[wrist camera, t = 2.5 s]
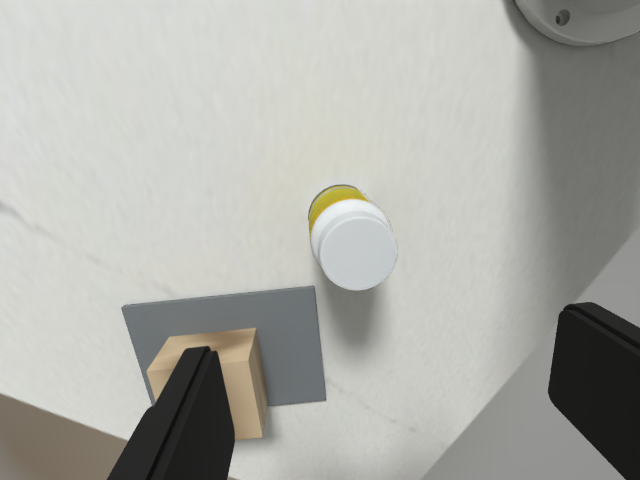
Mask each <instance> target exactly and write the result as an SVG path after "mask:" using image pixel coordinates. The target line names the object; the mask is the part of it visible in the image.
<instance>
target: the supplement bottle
mask: <svg viewBox="0 0 640 480" xmlns="http://www.w3.org/2000/svg"><path fill="white" fill-rule="evenodd" d="M308 220H309V230H310V243H311V248H312V252H313V254H314V257H315V258H316V260H317V262H318V263H319V264H320V265H321V267H322V269H323V272H324V273H325V275H326V276H327V277H328V279H329V280H330V281H331V282H333V283H334V284H335V285H337V286H339V287H341V288H344V289H347V290H353V291H360V290H366V289H370V288H373V287H375V286H377V285H379V284H380V283H382V282H383V281H384V280H385V279H386V278H387V277H388V276H389V275H390V273H391V272H392V270H393V269H394V266H395V264H396V261H397V256H398V247H397V242H396V239H395V237H394V235H393V230H392V227H391V224H390V221H389V220H388V218H387V216H386V215H385V213H384V212H383V211H382V210H381V209H380V208H379V207H378V206H377V205H376V204H375V203H374V202H373V201H372V200H371V199H370V198H369V197H368V196H367V195H366V194H365V193H363V192H362V191H361V190H360V189H358V188H356V187H354V186H351V185H347V184H336V185H332V186H329V187H327V188H325V189H323V190H322V191H321V192H319V193H318V194H317V196H316V197H315V198H314V200H313V201H312V203H311V206H310V209H309V215H308Z"/></svg>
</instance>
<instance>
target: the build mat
mask: <svg viewBox="0 0 640 480" xmlns="http://www.w3.org/2000/svg"><path fill="white" fill-rule="evenodd" d="M121 309H122V312H123V315H124V318H125V321H126V325H127V328H128V331H129V334H130V337H131V340H132V344H133V347H134V350H135V353H136V356H137V359H138V363H139V366H140V369H141V372H142V375H143V378H144V382H145V385H146V388H147V391H148V394H149V397H150V400H151V404H152V406H154V405H155V403H156V401H155V398H154V394H153V391H152V388H151V385H150V382H149V378H148V375H147V372H146V371H147V369H148V368H149V366H150V365H151V363H152V362H153V360H154V359H155V357H156V356H157V354H158V353H159V351H160V350H161V348H162V347H163V345H164V344H165V342H166V341H167V339H168V338H169V337H173V336H182V335H192V334H202V333H211V332H221V331H230V330H240V329H249V328H256V330H257V336H258V341H259V347H260V353H261V359H262V364H263V370H264V376H265V382H266V387H267V393H268V402H267V406H273V405H282V404H291V403H300V402H310V401H319V400H326V395H325V385H324V376H323V366H322V357H321V347H320V337H319V328H318V318H317V309H316V299H315V290H314V286H307V287H297V288H287V289H278V290H268V291H258V292H248V293H239V294H229V295H219V296H209V297H200V298H190V299H180V300H170V301H161V302H151V303H141V304H131V305H124V306H123V307H122V308H121Z"/></svg>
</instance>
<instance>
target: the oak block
mask: <svg viewBox="0 0 640 480" xmlns="http://www.w3.org/2000/svg"><path fill="white" fill-rule="evenodd" d="M201 346H209V347H210V349H211V351H217V352H218V355H219V360H220V364H221V369H222V373H223V378H224V383H225V387H226V392H227V397H228V401H229V406H230V411H231V415H232V420H233V424H234V430H235V440H242V439H251V438H261V437H263V431H264V424H265V416H266V409H267V402H268V393H267V387H266V382H265V376H264V370H263V364H262V359H261V353H260V347H259V341H258V336H257V330H256V328H249V329H240V330H230V331H221V332H211V333H202V334H192V335H182V336H173V337H169V338H168V339H167V341H166V342H165V344H164V345H163V347H162V348H161V350H160V351H159V353H158V354H157V356H156V357H155V359H154V360H153V362H152V363H151V365H150V366H149V368H148V369H147V371H146V372H147V375H148V378H149V382H150V385H151V388H152V391H153V394H154V398H155V401H157V399H158V397H159V395H160V394H161V392H162V390H163V388H164V386H165V384H166V383H167V381H168V379H169V377H170V375H171V373H172V372H173V370H174V368H175V366H176V364H177V362H178V361H179V359H180V357H181V355H182V353H183V351H184V350H185V349H186V348H193V347H201Z"/></svg>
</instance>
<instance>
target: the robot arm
mask: <svg viewBox="0 0 640 480" xmlns="http://www.w3.org/2000/svg"><path fill="white" fill-rule="evenodd" d="M515 2H516V4H517V6H518V8H519V9H520V11H521V12H522V13H523V15H524V16H525V18H526V19H527V21H528V22H529V23H530V24H531V25H533V26H534V27H535V28H536V29H537V30H538V31H539V32H540V33H542V34H543V35H545V36H547V37H549V38H551V39H553V40H554V41H556V42H560V43H564V44H568V45H572V46H594V45H599V44H604V43H609V42H612V41H615V40H618V39H621V38H624V37H627V36H630V35H632V34H634V33H636V32H638V31H640V0H515ZM548 394H549V397H550V400H551V401H552V403H553V404H554V406H555V407H556V408H557V409H558V410H559V411H560V412H561V413H562V414H563V415H564V416H565V417H566V418H567V419H568V420H569V421H570V422H571V423H572V424H573V425H574V426H575V427H576V428H577V429H578V430H579V431H580V432H581V434H582V435H583V436H584V437H585V438H586V439H587V440H588V441H589V442H590V443H591V444H592V445H593V446H594V447H595V448H596V449H597V450H598V451H599V452H600V453H601V454H602V455H603V456H604V457H605V458H606V459H607V460H608V462H609V463H611V465H612V466H613V467H614V468H615V469H616V470H617V471H618V472H619V473H620V474H621V475H622V476H623V477H624V478H625V479H626V480H640V328H639V327H637V326H635V325H634V324H632V323H630V322H628V321H626V320H625V319H623V318H621V317H619V316H617V315H615V314H613V313H612V312H610V311H608V310H606V309H604V308H603V307H601V306H599V305H597V304H595V303H592V302H586V303H577V304H569V305H567V306H565V308H564V309H563V311H561V313H560V314H559V318H558V325H557V332H556V339H555V347H554V353H553V360H552V367H551V374H550V381H549V387H548ZM234 443H235V430H234V424H233V420H232V415H231V411H230V406H229V401H228V397H227V392H226V387H225V383H224V378H223V373H222V369H221V364H220V360H219V355H218V352H217V351H211V349H210V347H209V346H201V347H193V348H186V349H185V350H184V351H183V353H182V355H181V357H180V359H179V361H178V362H177V364H176V366H175V368H174V370H173V372H172V373H171V375H170V377H169V379H168V381H167V383H166V384H165V386H164V388H163V390H162V392H161V394H160V395H159V397H158V399H157V401H156V403H155V405H154V406H151V407H150V408H148V409H147V411H146V412H145V413H144V415H143V417H142V418H141V420H140V422H139V424H138V425H137V427H136V429H135V431H134V432H133V434H132V436H131V438H130V439H129V441H128V443H127V445H126V447H125V448H124V450H123V452H122V454H121V456H120V457H119V459H118V461H117V463H116V464H115V466H114V468H113V470H112V472H111V473H110V475H109V477H108V478H107V480H227V477H228V472H229V467H230V463H231V458H232V453H233V448H234Z"/></svg>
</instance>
